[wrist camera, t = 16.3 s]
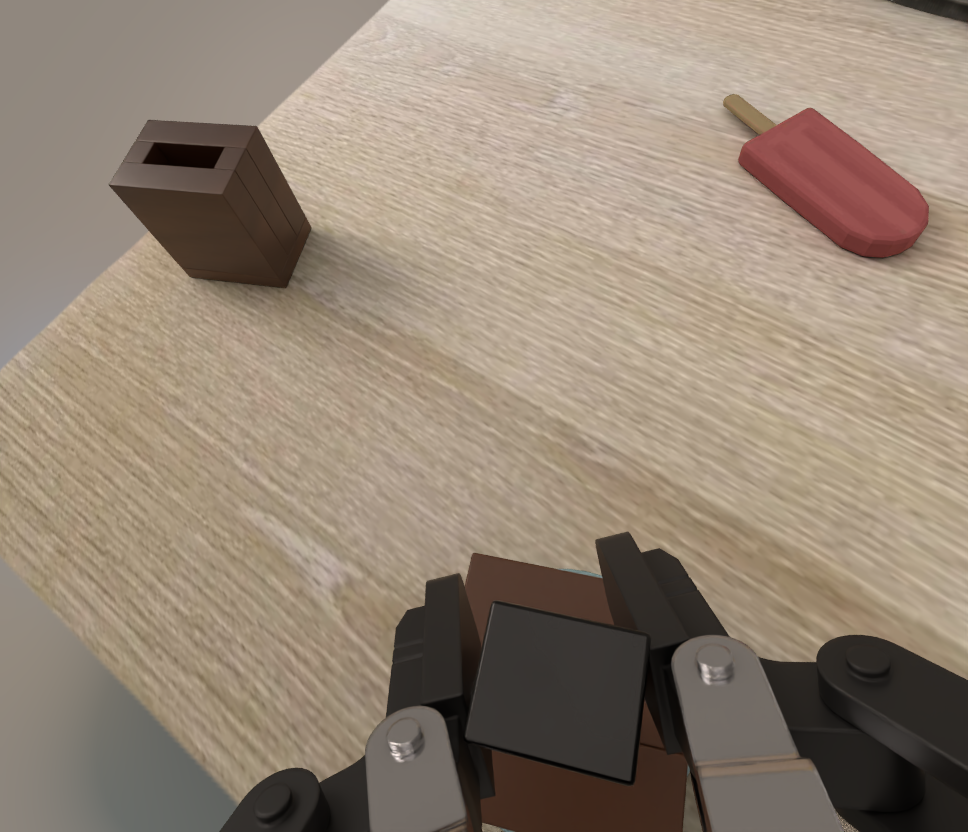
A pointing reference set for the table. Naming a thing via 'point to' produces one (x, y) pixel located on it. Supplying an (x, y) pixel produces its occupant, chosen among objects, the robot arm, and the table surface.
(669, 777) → the slotted wooden stand
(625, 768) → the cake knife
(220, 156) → the knife block
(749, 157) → the popsicle
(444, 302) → the table surface
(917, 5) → the knife
